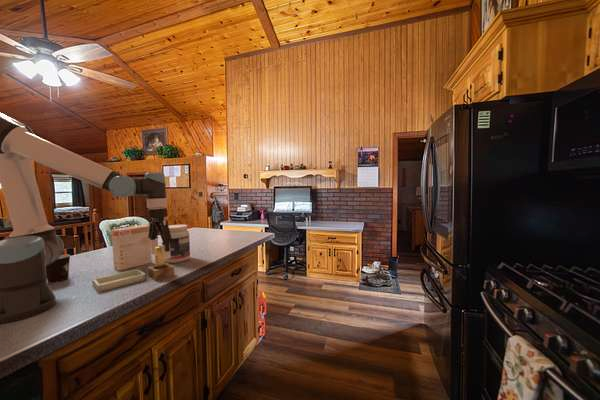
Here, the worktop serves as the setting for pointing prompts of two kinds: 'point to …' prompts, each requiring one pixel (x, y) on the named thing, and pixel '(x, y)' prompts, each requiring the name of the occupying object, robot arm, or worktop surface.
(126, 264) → the coffeecake box
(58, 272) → the coffee mug
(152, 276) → the socket block
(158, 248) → the pin
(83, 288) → the worktop surface
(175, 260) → the supplement tub
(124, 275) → the tray
